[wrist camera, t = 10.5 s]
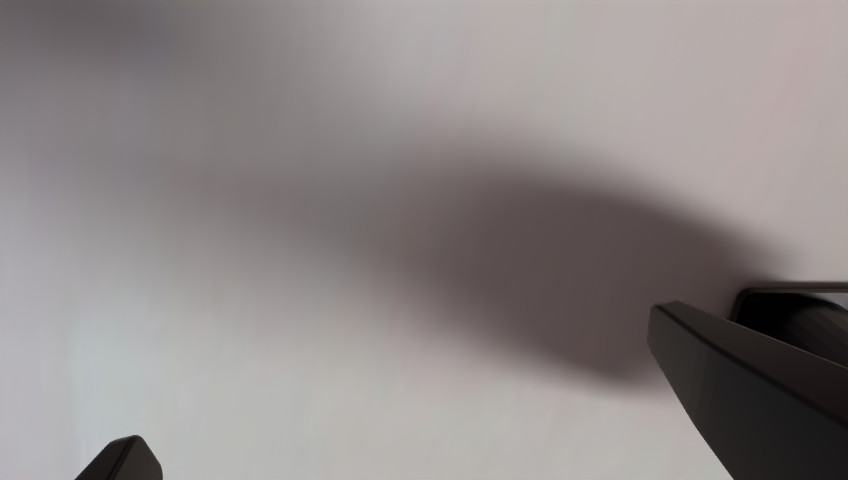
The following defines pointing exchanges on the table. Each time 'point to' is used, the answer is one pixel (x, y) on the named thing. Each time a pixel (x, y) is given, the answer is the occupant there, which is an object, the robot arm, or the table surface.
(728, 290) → the table surface
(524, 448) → the table surface
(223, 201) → the table surface
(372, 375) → the table surface
